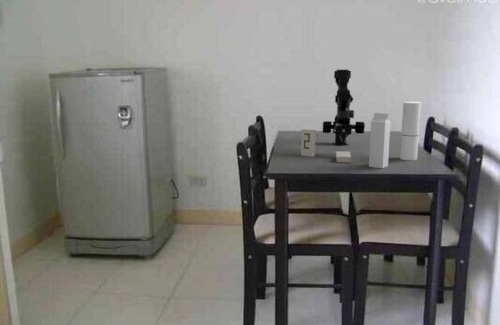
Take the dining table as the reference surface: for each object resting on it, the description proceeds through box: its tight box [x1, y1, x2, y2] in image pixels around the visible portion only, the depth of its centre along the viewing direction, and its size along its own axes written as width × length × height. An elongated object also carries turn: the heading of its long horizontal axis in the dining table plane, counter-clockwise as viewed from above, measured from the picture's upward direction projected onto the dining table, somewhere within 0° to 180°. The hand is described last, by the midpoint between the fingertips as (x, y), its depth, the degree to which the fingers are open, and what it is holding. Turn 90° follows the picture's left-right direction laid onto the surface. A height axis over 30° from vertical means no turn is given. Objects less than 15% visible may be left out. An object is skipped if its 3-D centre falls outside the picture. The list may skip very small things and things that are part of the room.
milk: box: [368, 112, 391, 169], centre depth 192 cm, size 6×6×22 cm
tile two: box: [300, 128, 316, 158], centre depth 216 cm, size 3×6×12 cm, turn 54°
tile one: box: [335, 150, 352, 164], centre depth 207 cm, size 3×6×12 cm
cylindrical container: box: [399, 101, 422, 161], centre depth 206 cm, size 7×7×25 cm
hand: (343, 142), depth 210 cm, fingers closed
